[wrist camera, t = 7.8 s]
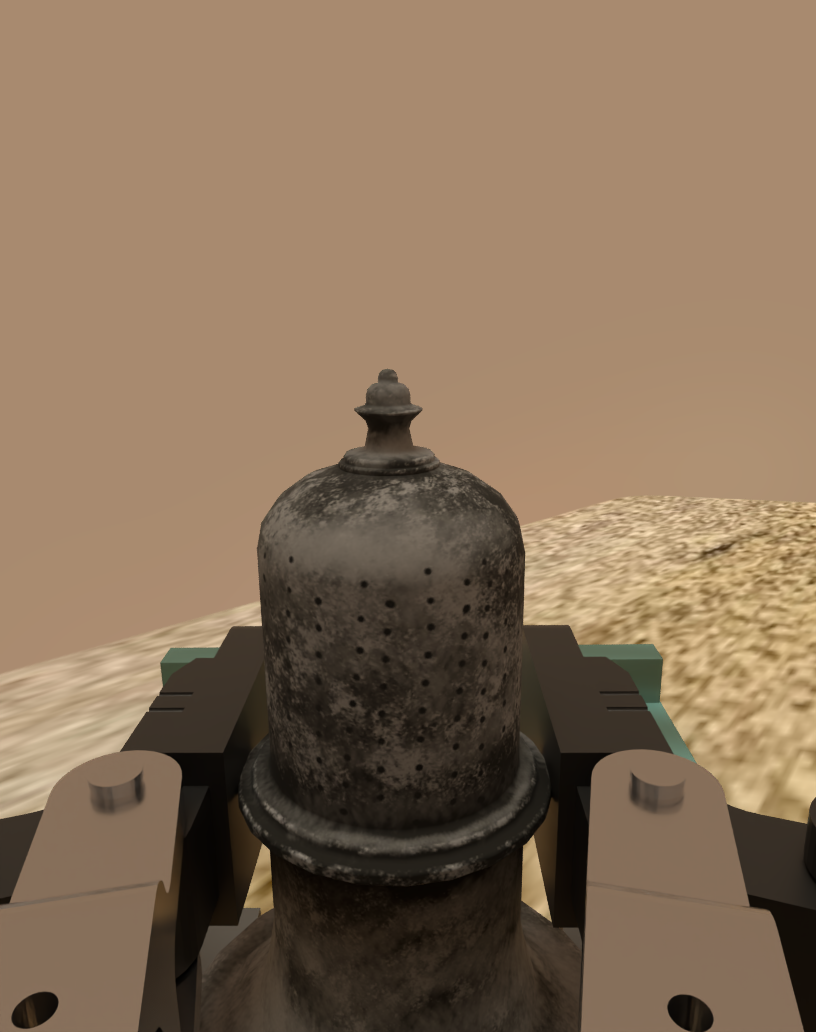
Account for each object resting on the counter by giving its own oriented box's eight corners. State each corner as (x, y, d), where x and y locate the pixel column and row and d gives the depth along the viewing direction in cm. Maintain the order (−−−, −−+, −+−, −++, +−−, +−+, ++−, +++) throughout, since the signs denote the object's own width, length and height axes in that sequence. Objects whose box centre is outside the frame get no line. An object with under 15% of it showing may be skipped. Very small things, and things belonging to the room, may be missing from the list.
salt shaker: (333, 992, 15) (304, 348, 12) (652, 1130, 12) (725, 355, 9) (87, 1352, 10) (-81, 386, 7) (543, 1711, 7) (622, 426, 4)
